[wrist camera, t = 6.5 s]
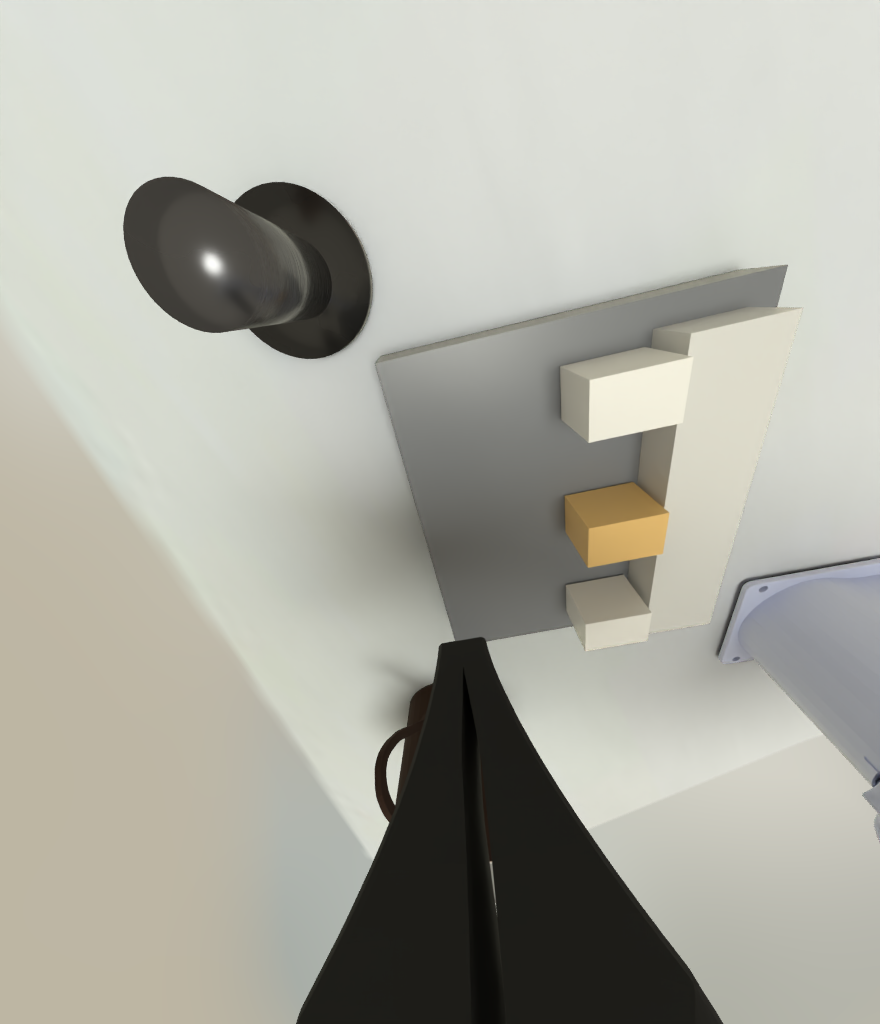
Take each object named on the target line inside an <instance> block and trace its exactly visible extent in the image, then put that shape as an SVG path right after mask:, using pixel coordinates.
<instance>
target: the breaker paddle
mask: <svg viewBox="0 0 880 1024" xmlns="http://www.w3.org/2000/svg"><path fill="white" fill-rule="evenodd" d="M669 514H670V513H669V512H668V511H667V510H666V509H664V508H663V507H662V506H661V505H660V504H659V503H657V502H656V501H655V500H654V499H653V498H652V497H650V496H649V495H648V494H647V493H646V492H645V491H643V490H642V489H641V488H640V487H639V486H637V485H636V484H635V483H634V482H630V483H626V484H621V485H616V486H611V487H606V488H601V489H596V490H591V491H586V492H581V493H576V494H571V495H566V496H565V532H566V533H567V535H568V537H569V538H570V540H571V541H572V543H573V545H574V546H575V548H576V550H577V551H578V553H579V554H580V556H581V558H582V559H583V561H584V562H585V564H586V566H587V567H588V568H590V567H595V566H601V565H606V564H612V563H617V562H622V561H628V560H633V559H638V558H644V557H649V556H655V555H660V554H663V550H664V544H665V538H666V532H667V526H668V520H669Z"/></svg>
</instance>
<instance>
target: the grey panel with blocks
mask: <svg viewBox="0 0 880 1024" xmlns="http://www.w3.org/2000/svg"><path fill="white" fill-rule="evenodd" d="M787 267H788V265H780V266H770V267H761V268H751V269H741V270H736V271H732V272H728V273H724V274H720V275H716V276H711V277H707V278H703V279H699V280H695V281H691V282H687V283H682V284H678V285H674V286H670V287H666V288H662V289H657V290H653V291H649V292H645V293H641V294H637V295H633V296H628V297H624V298H620V299H616V300H612V301H608V302H603V303H599V304H595V305H591V306H587V307H583V308H579V309H574V310H570V311H566V312H562V313H558V314H554V315H550V316H545V317H541V318H537V319H533V320H529V321H525V322H520V323H516V324H512V325H508V326H504V327H500V328H496V329H491V330H487V331H483V332H479V333H475V334H471V335H466V336H462V337H458V338H454V339H450V340H446V341H442V342H437V343H433V344H429V345H425V346H421V347H417V348H413V349H408V350H404V351H400V352H396V353H392V354H388V355H383V356H380V358H379V359H378V360H377V362H376V363H375V366H376V369H377V373H378V376H379V380H380V383H381V387H382V390H383V394H384V397H385V400H386V404H387V407H388V411H389V414H390V418H391V421H392V425H393V428H394V431H395V435H396V438H397V442H398V445H399V449H400V452H401V456H402V459H403V462H404V466H405V469H406V473H407V476H408V480H409V483H410V487H411V490H412V493H413V497H414V500H415V504H416V507H417V511H418V514H419V518H420V521H421V524H422V528H423V531H424V535H425V538H426V542H427V545H428V549H429V552H430V555H431V559H432V562H433V566H434V569H435V573H436V576H437V580H438V583H439V586H440V590H441V593H442V597H443V600H444V604H445V607H446V611H447V614H448V617H449V621H450V624H451V628H452V631H453V635H454V638H455V641H459V640H465V639H471V638H477V637H483V638H485V639H486V641H491V640H496V639H502V638H508V637H514V636H519V635H525V634H531V633H537V632H542V631H548V630H554V629H559V628H565V627H571V626H574V628H575V630H576V632H577V635H578V637H579V639H580V641H581V643H582V645H583V648H584V650H585V651H591V650H597V649H603V648H609V647H614V646H620V645H626V644H632V643H638V642H644V641H648V635H649V634H652V633H657V632H663V631H669V630H675V629H681V628H687V627H693V626H699V625H704V624H710V621H711V617H712V614H713V610H714V607H715V604H716V600H717V597H718V594H719V590H720V587H721V583H722V580H723V577H724V573H725V570H726V567H727V563H728V560H729V556H730V553H731V550H732V546H733V543H734V540H735V536H736V533H737V530H738V526H739V523H740V519H741V516H742V513H743V509H744V506H745V503H746V499H747V496H748V492H749V489H750V486H751V482H752V479H753V476H754V472H755V469H756V465H757V462H758V459H759V455H760V452H761V449H762V445H763V442H764V438H765V435H766V432H767V428H768V425H769V422H770V418H771V415H772V412H773V408H774V405H775V401H776V398H777V395H778V391H779V388H780V385H781V381H782V378H783V374H784V371H785V368H786V364H787V361H788V358H789V354H790V351H791V347H792V344H793V341H794V337H795V334H796V331H797V327H798V324H799V321H800V317H801V314H802V310H803V308H785V307H777V305H778V301H779V297H780V294H781V290H782V286H783V282H784V278H785V275H786V271H787ZM630 482H634V483H635V484H636V485H637V486H639V487H640V488H641V489H642V490H643V491H645V492H646V493H647V494H648V495H649V496H650V497H652V498H653V499H654V500H655V501H656V502H657V503H659V504H660V505H661V506H662V507H663V508H664V509H666V510H667V511H668V512H669V513H670V514H669V520H668V526H667V532H666V538H665V544H664V550H663V554H660V555H655V556H649V557H644V558H638V559H633V560H628V561H622V562H617V563H612V564H606V565H601V566H595V567H590V568H588V567H587V566H586V564H585V562H584V561H583V559H582V558H581V556H580V554H579V553H578V551H577V550H576V548H575V546H574V545H573V543H572V541H571V540H570V538H569V537H568V535H567V533H566V532H565V496H566V495H571V494H576V493H581V492H586V491H591V490H596V489H601V488H606V487H611V486H616V485H621V484H626V483H630Z"/></svg>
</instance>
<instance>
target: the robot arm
mask: <svg viewBox="0 0 880 1024" xmlns="http://www.w3.org/2000/svg"><path fill="white" fill-rule="evenodd" d="M718 659H719V660H720V661H721V662H722V663H723V664H730V663H736V662H742V661H748V660H755V661H756V662H757V663H758V664H759V665H760V666H761V667H762V668H763V669H764V671H765V672H766V673H767V674H768V675H769V676H770V677H771V678H772V679H773V680H774V681H775V682H776V683H777V685H778V686H779V687H780V688H781V689H782V690H783V691H784V692H785V693H786V694H787V695H788V696H789V697H790V699H791V700H792V701H793V702H794V703H795V704H796V705H797V706H798V707H799V708H800V709H801V710H802V711H803V713H804V714H805V715H806V716H807V717H808V718H809V719H810V720H811V721H812V722H813V723H814V724H815V725H816V727H817V728H818V729H819V730H820V731H821V732H822V733H823V734H824V735H825V736H826V737H827V738H828V739H829V740H830V742H831V743H832V744H833V745H834V746H835V747H836V748H837V749H838V750H839V751H840V752H841V753H842V755H843V756H844V757H845V758H846V759H847V760H848V761H849V762H850V763H851V764H852V765H853V766H854V767H855V769H856V770H857V771H858V772H859V773H860V774H861V775H862V776H863V777H864V778H865V779H866V780H867V781H868V782H869V784H870V785H871V786H872V787H873V788H872V789H871V790H869V791H867V792H865V793H863V794H862V796H863V797H864V798H865V799H866V800H867V801H868V802H869V804H870V805H872V807H873V808H874V809H875V810H876V811H877V812H878V814H877V815H876V817H875V819H874V827H875V831H876V834H877V838H878V840H879V842H880V558H878V559H872V560H866V561H861V562H855V563H850V564H844V565H838V566H833V567H827V568H821V569H816V570H810V571H805V572H799V573H793V574H788V575H782V576H776V577H771V578H765V579H759V580H754V581H749V582H747V583H745V584H744V585H743V587H742V589H741V592H740V595H739V598H738V601H737V604H736V606H735V609H734V612H733V615H732V618H731V621H730V624H729V627H728V630H727V633H726V636H725V639H724V642H723V644H722V647H721V650H720V653H719V656H718ZM480 755H481V762H482V771H483V780H484V789H485V798H486V808H487V818H488V828H489V837H490V847H491V857H492V867H493V878H494V888H495V897H494V890H493V883H492V875H491V868H490V860H489V853H488V845H487V837H486V830H485V821H484V810H483V796H482V780H481V763H480ZM495 899H496V905H495ZM496 910H497V912H496ZM296 1024H723V1022H722V1021H721V1019H720V1018H719V1016H718V1014H717V1013H716V1011H715V1009H714V1008H713V1006H712V1005H711V1003H710V1002H709V1000H708V998H707V997H706V995H705V994H704V992H703V991H702V989H701V987H700V986H699V984H698V982H697V981H696V979H695V977H694V976H693V974H692V972H691V971H690V969H689V968H688V966H687V965H686V964H685V962H684V961H683V960H682V959H681V957H680V956H679V955H678V953H677V952H676V951H675V949H674V948H673V947H672V946H671V944H670V943H669V942H668V940H667V939H666V938H665V936H664V935H663V934H662V933H661V931H660V930H659V929H658V927H657V926H656V925H655V923H654V922H653V921H652V919H651V918H650V917H649V915H648V914H647V913H646V911H645V910H644V909H643V907H642V906H641V905H640V903H639V902H638V901H637V899H636V898H635V897H634V895H633V894H632V892H631V891H630V890H629V888H628V887H627V886H626V884H625V883H624V881H623V880H622V879H621V878H620V876H619V875H618V873H617V872H616V871H615V869H614V868H613V866H612V865H611V864H610V862H609V861H608V859H607V858H606V856H605V855H604V854H603V852H602V851H601V849H600V848H599V847H598V845H597V844H596V842H595V841H594V839H593V838H592V836H591V835H590V833H589V832H588V830H587V829H586V828H585V826H584V825H583V823H582V822H581V820H580V819H579V818H578V816H577V815H576V813H575V812H574V810H573V809H572V807H571V805H570V804H569V802H568V801H567V799H566V798H565V796H564V795H563V793H562V792H561V790H560V789H559V787H558V785H557V784H556V782H555V781H554V779H553V777H552V776H551V774H550V773H549V771H548V769H547V768H546V766H545V764H544V763H543V761H542V759H541V758H540V756H539V754H538V753H537V751H536V749H535V748H534V746H533V744H532V742H531V741H530V739H529V737H528V735H527V733H526V732H525V730H524V728H523V726H522V724H521V723H520V721H519V719H518V717H517V715H516V713H515V711H514V709H513V707H512V705H511V703H510V701H509V699H508V697H507V695H506V693H505V691H504V689H503V687H502V684H501V682H500V680H499V678H498V675H497V673H496V670H495V668H494V665H493V663H492V660H491V657H490V654H489V651H488V647H487V643H486V639H485V638H483V637H477V638H471V639H465V640H459V641H453V642H448V643H442V644H441V645H440V646H439V651H438V659H437V666H436V672H435V677H434V682H433V687H432V691H431V696H430V700H429V704H428V708H427V712H426V716H425V720H424V723H423V727H422V730H421V734H420V737H419V740H418V743H417V747H416V750H415V753H414V757H413V760H412V763H411V766H410V769H409V772H408V775H407V777H406V780H405V783H404V786H403V789H402V791H401V794H400V797H399V799H398V802H397V805H396V807H395V810H394V813H393V815H392V817H391V820H390V822H389V825H388V827H387V830H386V832H385V835H384V837H383V840H382V842H381V845H380V847H379V849H378V852H377V854H376V856H375V859H374V861H373V863H372V865H371V868H370V870H369V872H368V874H367V876H366V878H365V881H364V883H363V885H362V887H361V889H360V891H359V894H358V896H357V898H356V900H355V902H354V904H353V906H352V909H351V911H350V913H349V915H348V917H347V919H346V922H345V924H344V926H343V928H342V930H341V932H340V934H339V936H338V938H337V940H336V942H335V944H334V946H333V948H332V949H331V951H330V953H329V955H328V957H327V959H326V961H325V963H324V965H323V967H322V969H321V971H320V973H319V975H318V977H317V979H316V981H315V983H314V985H313V987H312V989H311V991H310V992H309V995H308V996H307V998H306V1000H305V1002H304V1004H303V1006H302V1008H301V1011H300V1013H299V1016H298V1019H297V1023H296Z"/></svg>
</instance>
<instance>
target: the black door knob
mask: <svg viewBox="0 0 880 1024" xmlns="http://www.w3.org/2000/svg"><path fill="white" fill-rule="evenodd" d="M123 230H124V241H125V247H126V250H127V254H128V258H129V260H130V263H131V265H132V268H133V270H134V272H135V274H136V276H137V278H138V279H139V281H140V283H141V284H142V286H143V287H144V289H145V290H146V292H147V293H148V294H149V296H150V297H151V298H152V299H153V300H154V301H155V302H156V303H157V304H158V305H159V306H160V307H161V308H162V309H163V310H164V311H165V312H166V313H168V314H169V315H170V316H171V317H173V318H174V319H176V320H178V321H179V322H181V323H183V324H185V325H187V326H189V327H191V328H194V329H196V330H200V331H204V332H211V333H222V332H228V331H235V330H242V329H248V328H249V329H250V330H251V331H252V332H253V333H254V334H255V335H256V336H257V337H258V338H260V339H261V340H262V341H263V342H265V343H266V344H268V345H269V346H270V347H272V348H274V349H276V350H278V351H280V352H282V353H284V354H287V355H290V356H294V357H297V358H305V359H316V358H322V357H326V356H329V355H332V354H334V353H336V352H338V351H340V350H342V349H344V348H345V347H346V346H348V345H349V344H350V343H351V342H353V341H354V340H355V339H356V337H357V336H358V335H359V334H360V332H361V331H362V329H363V327H364V325H365V324H366V321H367V319H368V316H369V312H370V309H371V303H372V291H373V285H372V275H371V270H370V265H369V262H368V258H367V255H366V252H365V250H364V248H363V246H362V243H361V241H360V240H359V238H358V236H357V234H356V233H355V231H354V230H353V228H352V227H351V225H350V224H349V223H348V222H347V220H346V219H345V218H344V217H343V216H342V215H341V214H340V213H339V212H338V211H337V209H336V208H335V207H333V206H332V205H331V204H330V203H329V202H328V201H327V200H325V199H324V198H322V197H321V196H319V195H318V194H316V193H315V192H313V191H311V190H309V189H307V188H305V187H301V186H298V185H295V184H291V183H285V182H271V183H266V184H261V185H259V186H256V187H254V188H252V189H250V190H248V191H247V192H245V193H244V194H243V195H242V196H240V197H239V198H238V199H237V200H236V201H235V203H233V202H231V201H229V200H227V199H226V198H224V197H222V196H220V195H218V194H216V193H214V192H212V191H210V190H208V189H207V188H205V187H203V186H201V185H199V184H196V183H194V182H192V181H189V180H186V179H183V178H177V177H161V178H156V179H153V180H150V181H148V182H146V183H145V184H143V185H142V186H140V187H139V188H138V189H137V190H136V191H135V192H134V194H133V195H132V197H131V198H130V200H129V203H128V205H127V207H126V211H125V216H124V225H123Z"/></svg>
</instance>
